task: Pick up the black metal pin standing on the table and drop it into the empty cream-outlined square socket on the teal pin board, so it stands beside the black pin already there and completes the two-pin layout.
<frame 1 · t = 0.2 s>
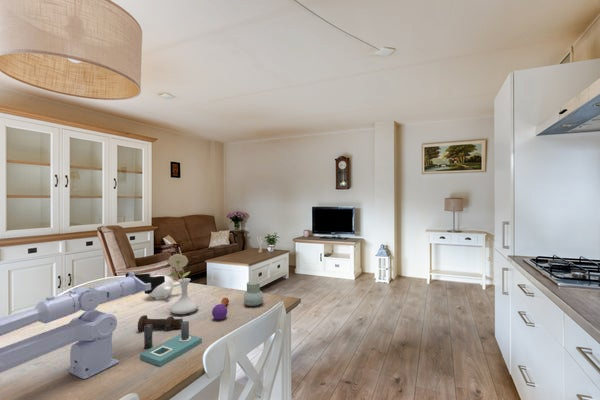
hand: (156, 277, 103), 21 cm above the table, tool horizontal, fingers open, 7 cm apart
piggy bank: (162, 298, 145), on the table
flower in vase: (182, 312, 127), on the table
pin board: (172, 350, 94), on the table
bolt: (161, 330, 110), on the table
pin: (148, 347, 97), on the table
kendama: (222, 313, 126), on the table
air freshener: (253, 304, 136), on the table
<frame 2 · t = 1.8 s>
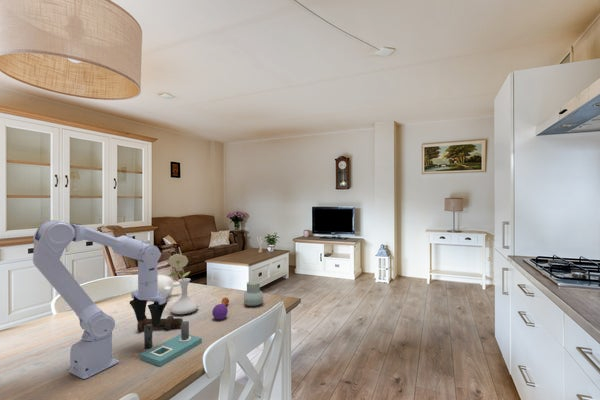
hand: (148, 322, 97), 8 cm above the table, tool pointing down, fingers open, 7 cm apart
nothing on the table moved.
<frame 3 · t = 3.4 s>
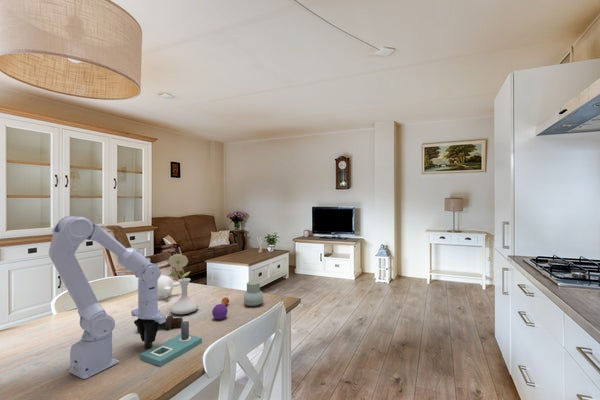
hand: (148, 341, 97), 2 cm above the table, tool pointing down, fingers closed on pin, 2 cm apart
pin: (148, 347, 97), on the table, touching gripper
everything else where it was.
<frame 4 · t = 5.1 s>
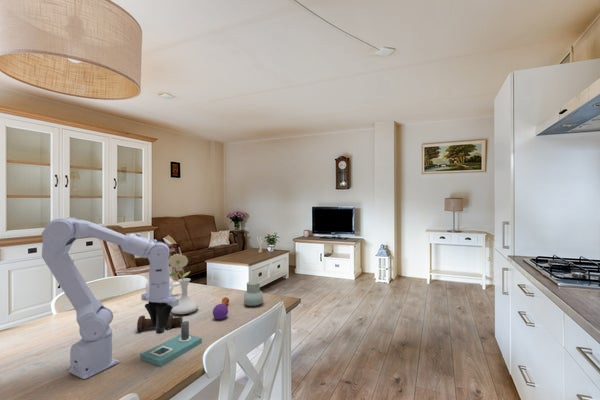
hand: (159, 326, 91), 9 cm above the table, tool pointing down, fingers closed on pin, 2 cm apart
pin: (160, 332, 92), point 7 cm above the table, touching gripper
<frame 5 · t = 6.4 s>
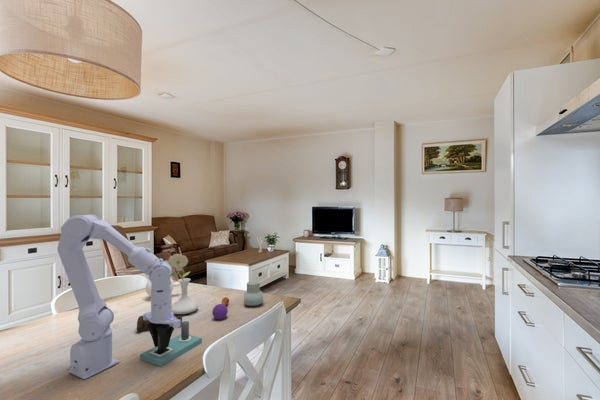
hand: (161, 346, 91), 3 cm above the table, tool pointing down, fingers closed on pin, 2 cm apart
pin: (161, 352, 91), point 1 cm above the table, touching gripper
when the fingers open (3 cm above the table, at t = 7.0 s): pin stays where it is, resting in pin board.
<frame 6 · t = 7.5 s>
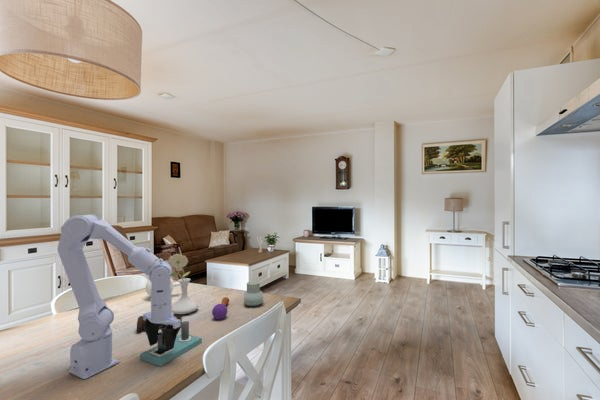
hand: (161, 346, 91), 3 cm above the table, tool pointing down, fingers open, 7 cm apart
pin: (161, 356, 91), resting in pin board
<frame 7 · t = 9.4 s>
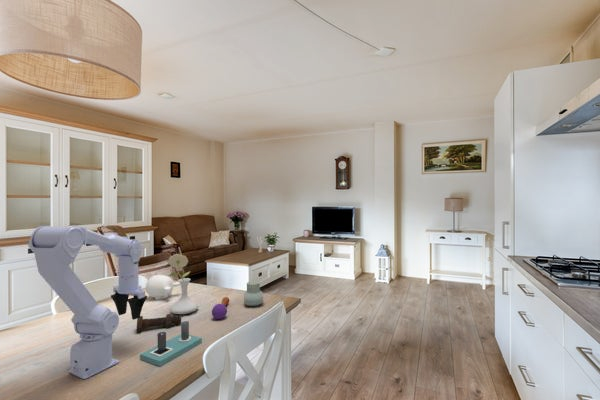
hand: (129, 316, 98), 9 cm above the table, tool pointing down, fingers open, 7 cm apart
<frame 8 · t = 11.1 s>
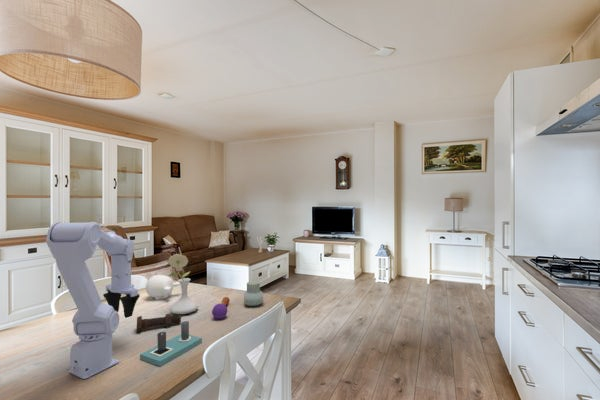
hand: (121, 314, 100), 9 cm above the table, tool pointing down, fingers open, 7 cm apart
at the end: pin 0.1 cm from the target spot on the pin board, point 0.0 cm above the pin board's base; pin tilted 0°; the gripper is holding nothing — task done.
